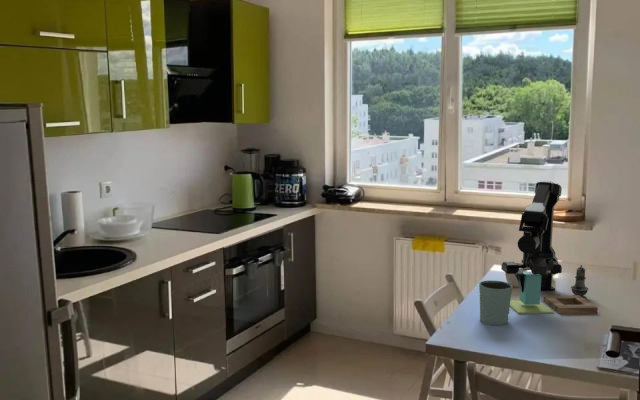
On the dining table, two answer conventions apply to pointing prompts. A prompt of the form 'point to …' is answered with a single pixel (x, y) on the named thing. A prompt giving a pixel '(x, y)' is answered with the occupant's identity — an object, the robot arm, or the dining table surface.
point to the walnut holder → (580, 306)
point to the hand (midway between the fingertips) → (529, 292)
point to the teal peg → (531, 289)
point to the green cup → (494, 302)
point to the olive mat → (529, 308)
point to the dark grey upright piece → (580, 283)
